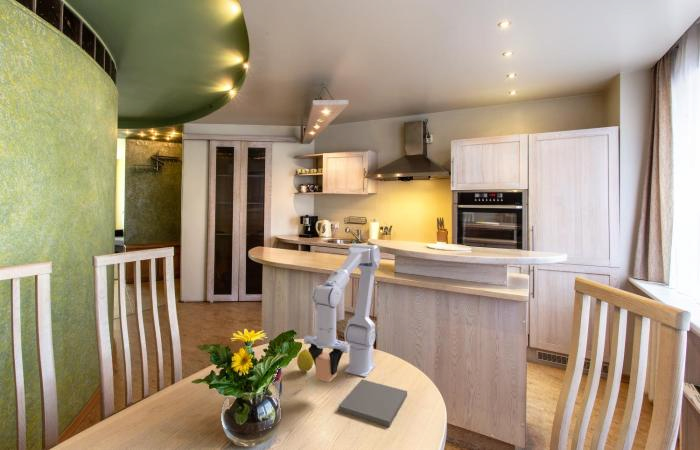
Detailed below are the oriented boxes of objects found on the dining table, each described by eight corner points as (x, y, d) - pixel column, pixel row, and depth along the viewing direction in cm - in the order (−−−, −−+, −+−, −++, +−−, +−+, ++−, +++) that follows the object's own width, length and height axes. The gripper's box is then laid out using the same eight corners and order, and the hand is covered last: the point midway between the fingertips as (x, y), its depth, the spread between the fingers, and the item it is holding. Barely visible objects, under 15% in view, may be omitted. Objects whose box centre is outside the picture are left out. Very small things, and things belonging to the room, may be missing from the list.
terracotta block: (323, 371, 101) (323, 352, 100) (336, 375, 99) (336, 355, 98) (315, 378, 97) (315, 358, 96) (329, 382, 94) (329, 361, 94)
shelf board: (361, 383, 106) (361, 379, 106) (407, 395, 100) (407, 391, 100) (338, 411, 92) (338, 405, 92) (389, 427, 86) (389, 421, 85)
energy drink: (277, 401, 97) (277, 361, 96) (260, 398, 98) (260, 359, 97) (284, 391, 102) (284, 353, 101) (268, 389, 103) (268, 351, 102)
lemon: (316, 371, 115) (316, 348, 114) (306, 377, 110) (306, 354, 109) (304, 366, 117) (304, 344, 117) (293, 373, 113) (293, 350, 112)
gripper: (298, 326, 96) (298, 371, 97) (342, 335, 90) (341, 383, 91) (311, 319, 103) (311, 361, 103) (353, 327, 96) (352, 372, 97)
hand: (326, 371), depth 97 cm, fingers closed on terracotta block, 5 cm apart
